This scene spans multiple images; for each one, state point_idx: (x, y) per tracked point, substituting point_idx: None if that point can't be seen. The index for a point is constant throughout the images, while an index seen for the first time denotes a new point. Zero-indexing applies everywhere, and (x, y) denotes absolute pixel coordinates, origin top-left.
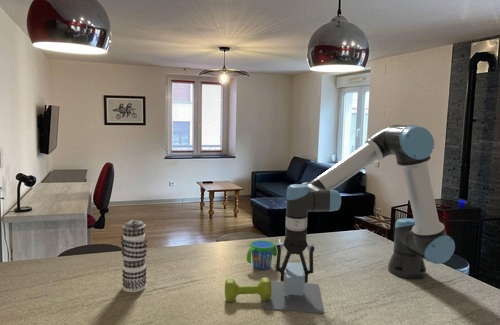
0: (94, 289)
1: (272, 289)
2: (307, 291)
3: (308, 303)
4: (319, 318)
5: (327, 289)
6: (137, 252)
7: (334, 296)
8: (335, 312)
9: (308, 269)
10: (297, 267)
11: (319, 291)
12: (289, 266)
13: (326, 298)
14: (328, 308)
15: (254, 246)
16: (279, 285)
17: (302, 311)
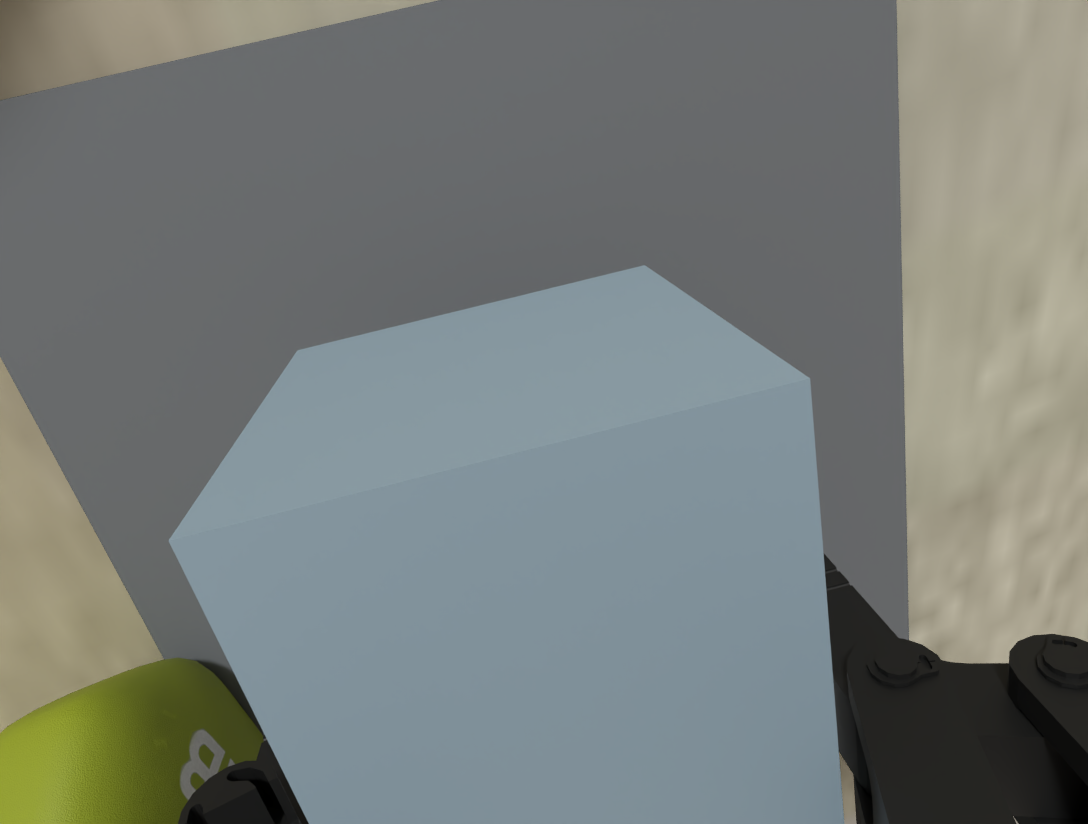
0: None
1: (164, 444)
2: (711, 299)
3: None
4: (852, 790)
5: (1019, 47)
6: None
7: (1082, 266)
8: (1018, 639)
9: (999, 767)
10: (683, 776)
11: (892, 224)
12: (426, 807)
13: (964, 369)
14: (958, 594)
15: None
16: (208, 251)
17: None
